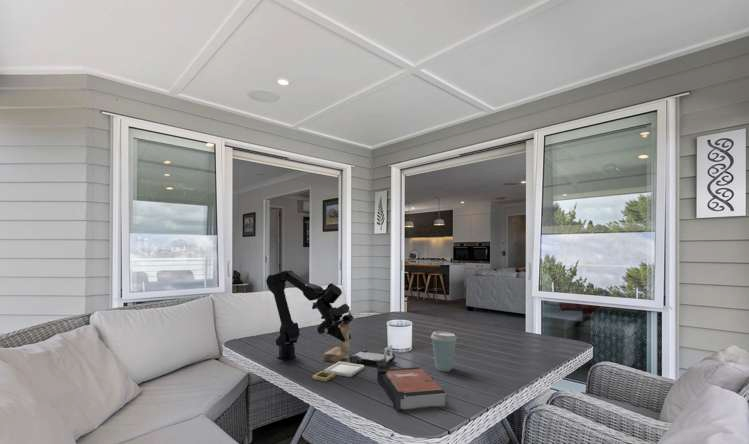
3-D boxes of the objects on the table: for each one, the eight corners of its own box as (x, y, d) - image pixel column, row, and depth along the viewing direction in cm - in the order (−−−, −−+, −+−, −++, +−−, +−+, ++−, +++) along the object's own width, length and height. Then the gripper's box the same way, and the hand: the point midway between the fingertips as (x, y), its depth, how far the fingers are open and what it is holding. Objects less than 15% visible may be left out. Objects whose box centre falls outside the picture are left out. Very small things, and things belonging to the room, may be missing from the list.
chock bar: (324, 361, 165) (324, 353, 165) (335, 354, 176) (335, 346, 177) (338, 363, 163) (338, 355, 163) (349, 355, 174) (349, 348, 174)
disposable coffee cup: (441, 363, 161) (440, 328, 162) (462, 369, 153) (461, 332, 154) (426, 369, 153) (425, 332, 155) (447, 375, 146) (447, 336, 147)
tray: (324, 372, 149) (324, 369, 149) (339, 364, 160) (339, 361, 160) (350, 377, 144) (350, 374, 144) (364, 368, 155) (364, 365, 155)
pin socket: (312, 379, 142) (312, 376, 142) (321, 374, 147) (321, 371, 147) (326, 381, 139) (326, 378, 139) (335, 376, 145) (335, 373, 145)
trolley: (349, 364, 160) (349, 346, 160) (362, 356, 171) (362, 340, 171) (384, 369, 153) (384, 350, 153) (395, 361, 164) (395, 344, 164)
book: (448, 407, 118) (448, 391, 118) (396, 412, 114) (395, 396, 114) (420, 378, 143) (420, 365, 144) (377, 382, 140) (377, 369, 140)
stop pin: (339, 358, 151) (339, 325, 151) (340, 355, 154) (341, 324, 155) (348, 358, 150) (348, 326, 151) (349, 355, 154) (349, 324, 155)
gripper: (323, 300, 148) (344, 332, 141) (350, 295, 164) (371, 323, 157) (308, 318, 152) (328, 349, 145) (336, 311, 167) (355, 339, 161)
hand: (347, 340), depth 152 cm, fingers closed on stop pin, 4 cm apart
